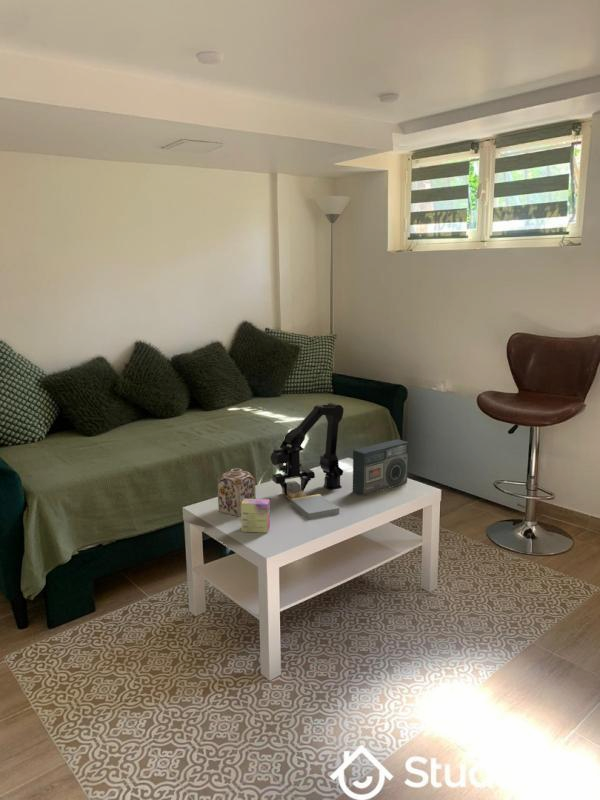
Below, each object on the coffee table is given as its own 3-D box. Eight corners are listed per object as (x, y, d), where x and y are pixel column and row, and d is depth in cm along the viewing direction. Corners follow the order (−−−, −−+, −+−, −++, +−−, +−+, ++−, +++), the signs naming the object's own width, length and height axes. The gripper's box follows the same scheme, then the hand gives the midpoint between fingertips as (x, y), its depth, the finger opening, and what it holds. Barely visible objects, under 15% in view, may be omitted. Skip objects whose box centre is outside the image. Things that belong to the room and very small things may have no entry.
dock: (319, 499, 268) (319, 493, 268) (339, 513, 252) (339, 507, 252) (290, 504, 262) (290, 498, 262) (308, 519, 246) (308, 513, 246)
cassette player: (363, 496, 272) (364, 453, 268) (352, 492, 278) (353, 450, 273) (407, 482, 290) (408, 442, 286) (396, 478, 295) (397, 439, 291)
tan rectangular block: (294, 491, 278) (294, 484, 278) (305, 500, 268) (305, 493, 267) (282, 493, 276) (282, 486, 275) (293, 502, 265) (293, 495, 264)
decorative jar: (239, 517, 248) (238, 476, 245) (217, 512, 255) (216, 471, 251) (256, 508, 258) (256, 468, 255) (235, 503, 264) (234, 463, 261)
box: (270, 527, 239) (269, 498, 237) (268, 533, 234) (267, 504, 231) (244, 526, 240) (243, 498, 238) (241, 532, 235) (240, 503, 232)
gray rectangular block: (294, 487, 274) (294, 480, 274) (300, 491, 269) (300, 484, 268) (286, 488, 273) (286, 482, 272) (292, 492, 267) (292, 486, 267)
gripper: (304, 453, 279) (304, 485, 282) (267, 458, 271) (267, 491, 275) (315, 460, 269) (315, 493, 273) (276, 465, 262) (277, 500, 265)
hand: (293, 494), depth 271 cm, fingers open, 8 cm apart
